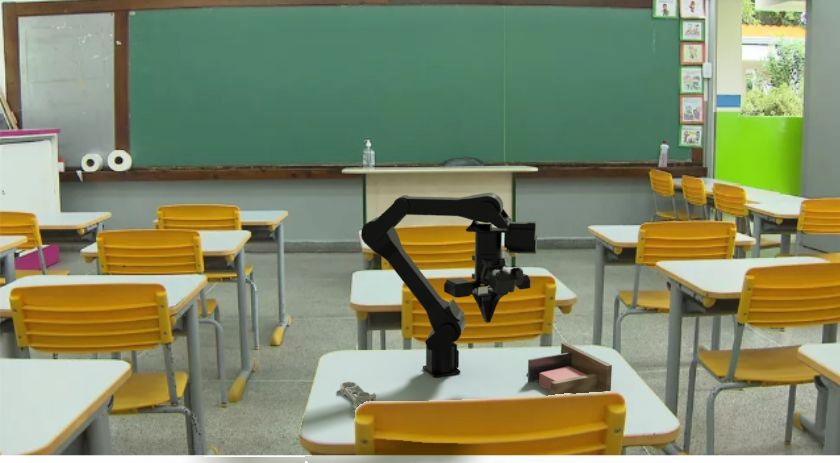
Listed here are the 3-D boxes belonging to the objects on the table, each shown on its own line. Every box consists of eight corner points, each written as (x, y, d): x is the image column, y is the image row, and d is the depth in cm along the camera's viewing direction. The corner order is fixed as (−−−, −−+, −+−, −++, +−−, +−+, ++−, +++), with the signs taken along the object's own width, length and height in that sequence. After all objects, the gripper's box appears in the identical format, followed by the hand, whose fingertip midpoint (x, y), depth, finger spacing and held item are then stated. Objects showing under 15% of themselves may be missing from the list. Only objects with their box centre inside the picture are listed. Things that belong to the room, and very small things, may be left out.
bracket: (336, 410, 145) (340, 380, 160) (336, 419, 146) (340, 388, 160) (375, 409, 145) (376, 379, 160) (375, 419, 146) (376, 388, 161)
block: (557, 395, 156) (557, 382, 156) (539, 386, 162) (539, 372, 161) (586, 388, 160) (587, 374, 160) (568, 379, 165) (568, 366, 165)
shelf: (561, 402, 152) (562, 374, 151) (518, 376, 166) (519, 350, 165) (610, 392, 157) (611, 365, 156) (564, 367, 171) (565, 342, 170)
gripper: (468, 263, 151) (467, 338, 154) (546, 255, 159) (544, 326, 162) (442, 253, 161) (442, 324, 164) (517, 245, 169) (516, 313, 172)
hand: (487, 322), depth 165 cm, fingers closed
